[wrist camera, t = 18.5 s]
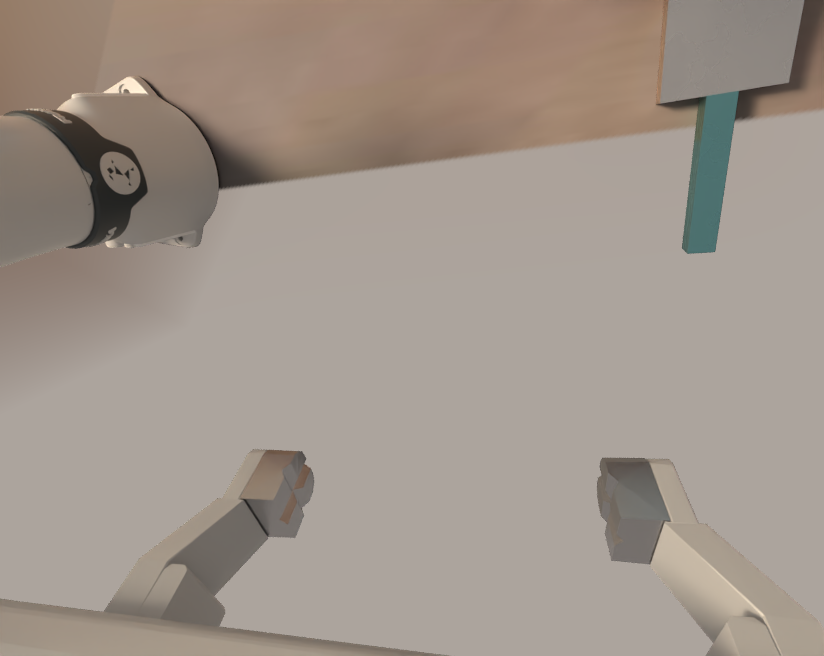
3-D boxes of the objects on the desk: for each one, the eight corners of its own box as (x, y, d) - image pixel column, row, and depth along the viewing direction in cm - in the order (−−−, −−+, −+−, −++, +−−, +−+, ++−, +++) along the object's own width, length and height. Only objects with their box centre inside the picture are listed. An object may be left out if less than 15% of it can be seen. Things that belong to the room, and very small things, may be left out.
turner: (749, 243, 36) (758, 249, 34) (644, 250, 38) (648, 255, 37) (803, -53, 28) (817, -64, 26) (665, -19, 30) (671, -27, 29)
